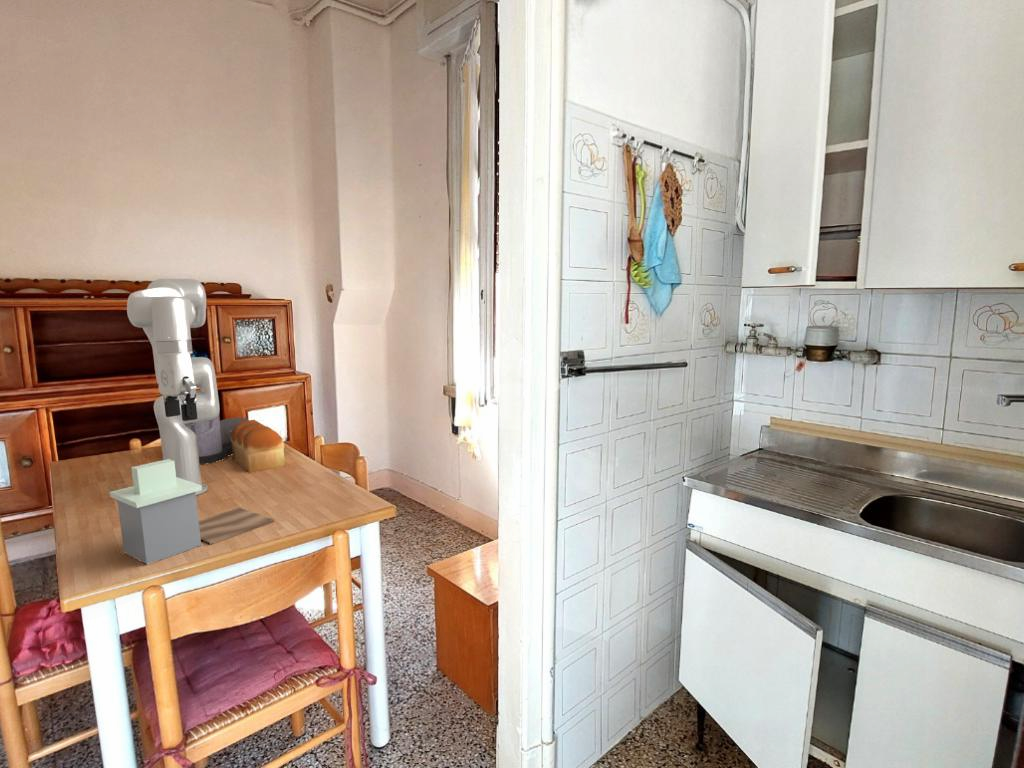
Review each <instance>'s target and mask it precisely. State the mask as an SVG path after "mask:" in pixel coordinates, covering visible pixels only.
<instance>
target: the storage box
mask: <svg viewBox="0 0 1024 768" xmlns="http://www.w3.org/2000/svg"><path fill="white" fill-rule="evenodd" d="M117 509H118V515H119V517H118V518H119V523H120V532H121V539H122V547H123V553H124V552H126V553H128V554H129V555H131V556H133V557H135V558H137V559H139V560H141V561H143V562H145V563H146V564H148V563H151V562H154V561H157V560H160V559H163V560H165V559H164V558H166V559H168V558H171V557H174V556H176V554H177V555H179V553H180V554H182V553H184V551H185V552H188V551H190V549H191V550H193V549H196V548H198V547H197V546H199V547H201V546H202V541H201V538H200V529H199V521H200V520H199V511H198V501H197V495H196V492H193V493H189V494H186V495H182V496H179V497H175V498H171V499H168V500H164V501H161V502H157V503H153V504H150V505H146V506H143V507H139V508H135V507H133V506H131V505H128V504H126V503H123V502H121V501H119V500H117ZM200 545H201V546H200ZM195 547H196V548H195ZM187 550H188V551H187ZM129 555H128V556H129ZM131 556H130V557H131ZM170 556H171V557H170ZM133 557H132V558H133ZM167 557H168V558H167ZM135 558H134V559H135ZM160 561H161V560H160ZM157 562H158V561H157ZM146 564H145V565H146Z"/></svg>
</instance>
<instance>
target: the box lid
mask: <svg viewBox="0 0 1024 768" xmlns="http://www.w3.org/2000/svg"><path fill="white" fill-rule="evenodd" d="M130 469H131V477H132V486H128V487H124V488H121V489H116V490H112V491H109V497H110V498H112V499H114V500H119V501H121V502H123V503H126V504H128V505H131V506H133V507H135V508H139V507H143V506H146V505H150V504H153V503H157V502H161V501H164V500H168V499H171V498H175V497H179V496H182V495H186V494H189V493H193V492H196V491H200V490H202V486H201V485H199V484H196V483H193V482H190V481H187V480H184V479H181V478H178V477H176V471H175V462H174V461H173V460H170V459H166V460H163V459H162V460H157V461H153V462H149V463H144V464H139V465H136V466H132V467H131V468H130Z"/></svg>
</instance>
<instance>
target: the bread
mask: <svg viewBox="0 0 1024 768" xmlns="http://www.w3.org/2000/svg"><path fill="white" fill-rule="evenodd" d="M230 441H231V442H232V453H233V456H232V460H233V459H234V460H233V461H235V460H236V461H237V462H238V463H239V464H238V463H237V462H236V461H235V462H236V463H237V464H238V465H240V466H241V465H242V466H243V467H244V468H243V467H242V466H241V467H242V468H243V469H244V470H246V471H247V470H248V471H249V472H248V471H247V472H248V473H250V474H252V473H251V472H253V473H257V472H256V471H259V472H262V470H264V471H267V469H269V470H272V469H271V468H274V469H276V468H275V467H279V466H284V465H285V466H286V464H285V462H286V461H285V449H284V448H285V443H284V440H283V438H282V436H281V435H280V433H278V432H277V431H276V430H274V429H272V428H271V427H269V426H267V425H264V424H262V423H260V422H259V421H258V420H255V419H250V420H249V419H248V421H241V422H240V423H238V424H237V425H236V426H235V427H234V429H233V430H232V432H231V438H230ZM285 466H284V467H285ZM279 468H280V467H279Z"/></svg>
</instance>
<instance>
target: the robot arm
mask: <svg viewBox="0 0 1024 768" xmlns="http://www.w3.org/2000/svg"><path fill="white" fill-rule="evenodd" d="M126 312H127V318H128V320H129V322H130V324H132V326H134V327H136V328H139V329H140V328H142V329H143V332H144V333H145V335H146V336H147V338H148V340H149V343H150V344H151V347H152V355H153V362H154V363H153V364H154V371H155V372H154V373H155V377H156V382H157V385H158V392H159V394H161V396H159V397H157V398H156V399H155V401H154V402H153V411H154V415H155V419H156V422H157V426H158V430H159V437H160V443H161V450H162V452H161V453H162V460H166V459H170V460H173V461H174V462H175V471H176V477H178V478H181V479H184V480H187V481H190V482H193V483H196V484H199V485H201V486H202V490H200V491H196V496H199V495H202V494H203V493H205V492H207V490H208V484H206V483H202V476H201V466H200V464H199V455H198V445H197V438H196V435H195V433H194V432H193V431H192V430H191V429H189V428H188V427H187V426H186V424H188V423H193V422H202V421H210V420H214V419H216V418H217V417H218V416H219V417H220V400H219V399H220V398H219V394H218V393H219V392H218V385H217V376H216V371H215V366H214V364H213V362H212V360H211V359H209V358H208V357H205V356H204V357H202V356H199V357H196V356H195V357H191V355H192V354H193V345H192V336H191V335H192V334H191V329H195V328H200V327H202V326H203V325H205V323H206V318H207V294H206V289H205V287H204V285H203V284H202V283H201V282H200V281H199V280H197V279H194V278H159V279H156V280H153V281H151V282H150V283H149V284H148V286H147V288H145V289H141V290H140V289H139V290H137V291H134V292H132V293H130V294H129V296H128V298H127V303H126ZM197 389H200V391H197Z"/></svg>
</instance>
